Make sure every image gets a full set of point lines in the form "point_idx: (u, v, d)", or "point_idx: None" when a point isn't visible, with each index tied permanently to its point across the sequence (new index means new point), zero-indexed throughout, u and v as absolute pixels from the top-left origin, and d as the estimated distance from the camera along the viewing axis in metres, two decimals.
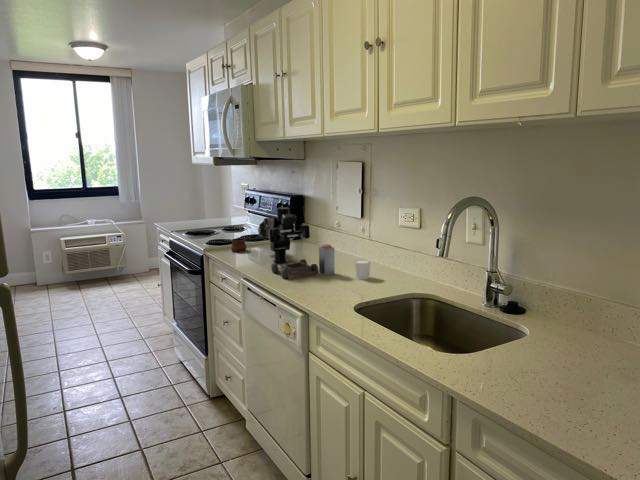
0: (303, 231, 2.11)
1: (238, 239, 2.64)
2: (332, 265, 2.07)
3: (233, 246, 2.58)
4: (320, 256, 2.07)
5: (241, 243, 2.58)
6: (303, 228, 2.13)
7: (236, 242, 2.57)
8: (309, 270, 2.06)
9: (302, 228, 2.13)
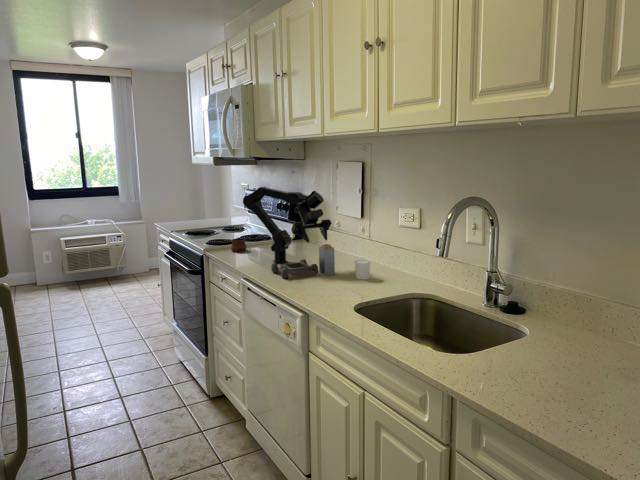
0: (326, 231, 2.17)
1: (238, 239, 2.64)
2: (332, 265, 2.07)
3: (233, 246, 2.58)
4: (320, 256, 2.07)
5: (241, 243, 2.58)
6: (326, 226, 2.17)
7: (236, 242, 2.57)
8: (309, 270, 2.06)
9: (325, 226, 2.17)
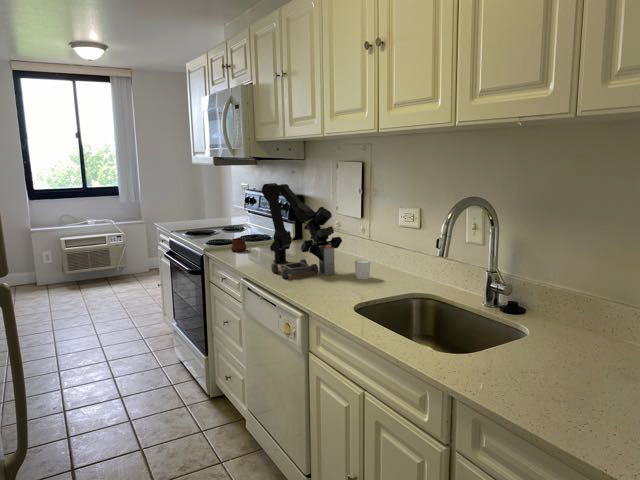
0: None
1: (238, 239, 2.64)
2: (332, 265, 2.07)
3: (233, 246, 2.58)
4: None
5: (241, 243, 2.58)
6: (333, 245, 2.09)
7: (236, 242, 2.57)
8: (309, 270, 2.06)
9: (332, 245, 2.09)
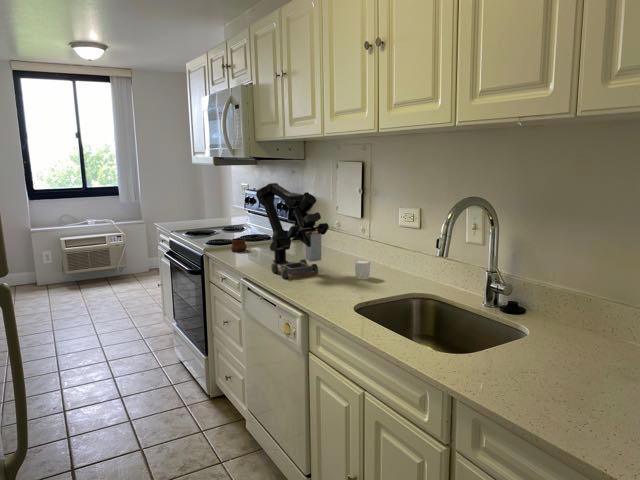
0: None
1: (238, 239, 2.64)
2: (319, 251, 2.06)
3: (233, 246, 2.59)
4: None
5: (241, 243, 2.58)
6: (320, 231, 2.09)
7: (236, 242, 2.57)
8: (309, 270, 2.06)
9: (319, 231, 2.08)
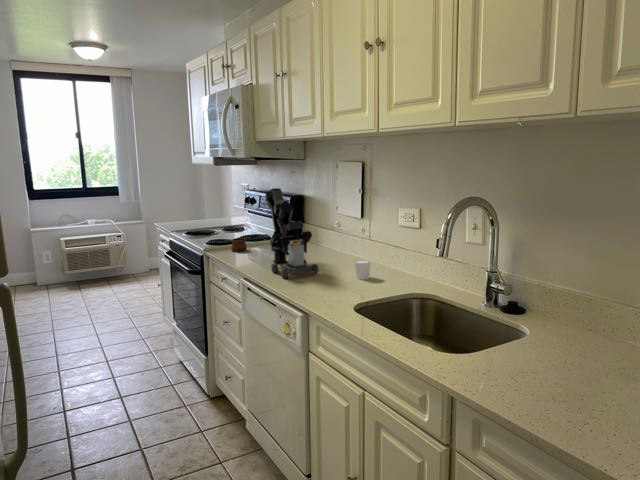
0: (305, 243, 2.09)
1: (239, 239, 2.64)
2: (302, 262, 2.06)
3: (233, 246, 2.59)
4: (289, 253, 2.07)
5: (241, 243, 2.58)
6: (306, 238, 2.09)
7: (235, 242, 2.58)
8: (309, 270, 2.06)
9: (305, 238, 2.09)
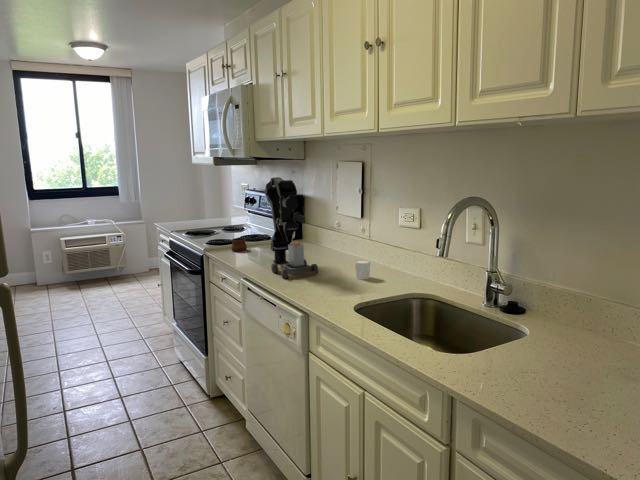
0: None
1: (239, 239, 2.65)
2: (302, 262, 2.06)
3: (233, 245, 2.59)
4: (289, 253, 2.07)
5: (241, 242, 2.59)
6: None
7: (236, 242, 2.58)
8: (309, 270, 2.06)
9: None
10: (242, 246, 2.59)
